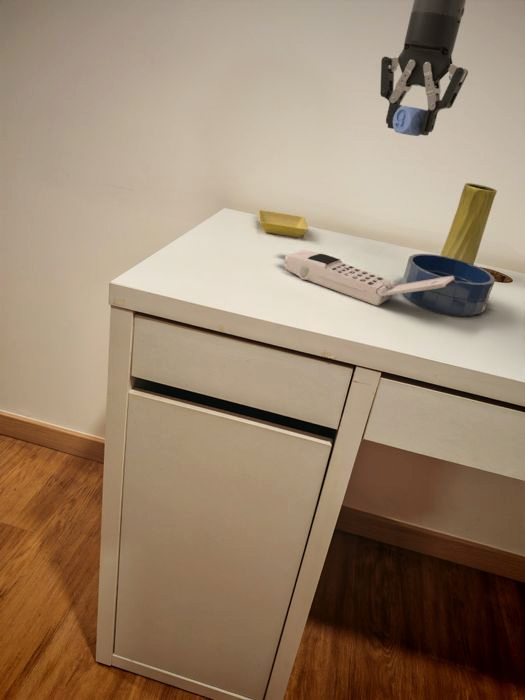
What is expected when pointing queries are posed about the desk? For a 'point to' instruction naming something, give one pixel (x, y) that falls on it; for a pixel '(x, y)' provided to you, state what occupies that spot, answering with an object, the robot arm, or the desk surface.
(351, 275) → the mobile phone
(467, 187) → the vase
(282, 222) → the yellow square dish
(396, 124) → the decorative dice
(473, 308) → the bowl
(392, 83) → the robot arm
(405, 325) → the desk surface
